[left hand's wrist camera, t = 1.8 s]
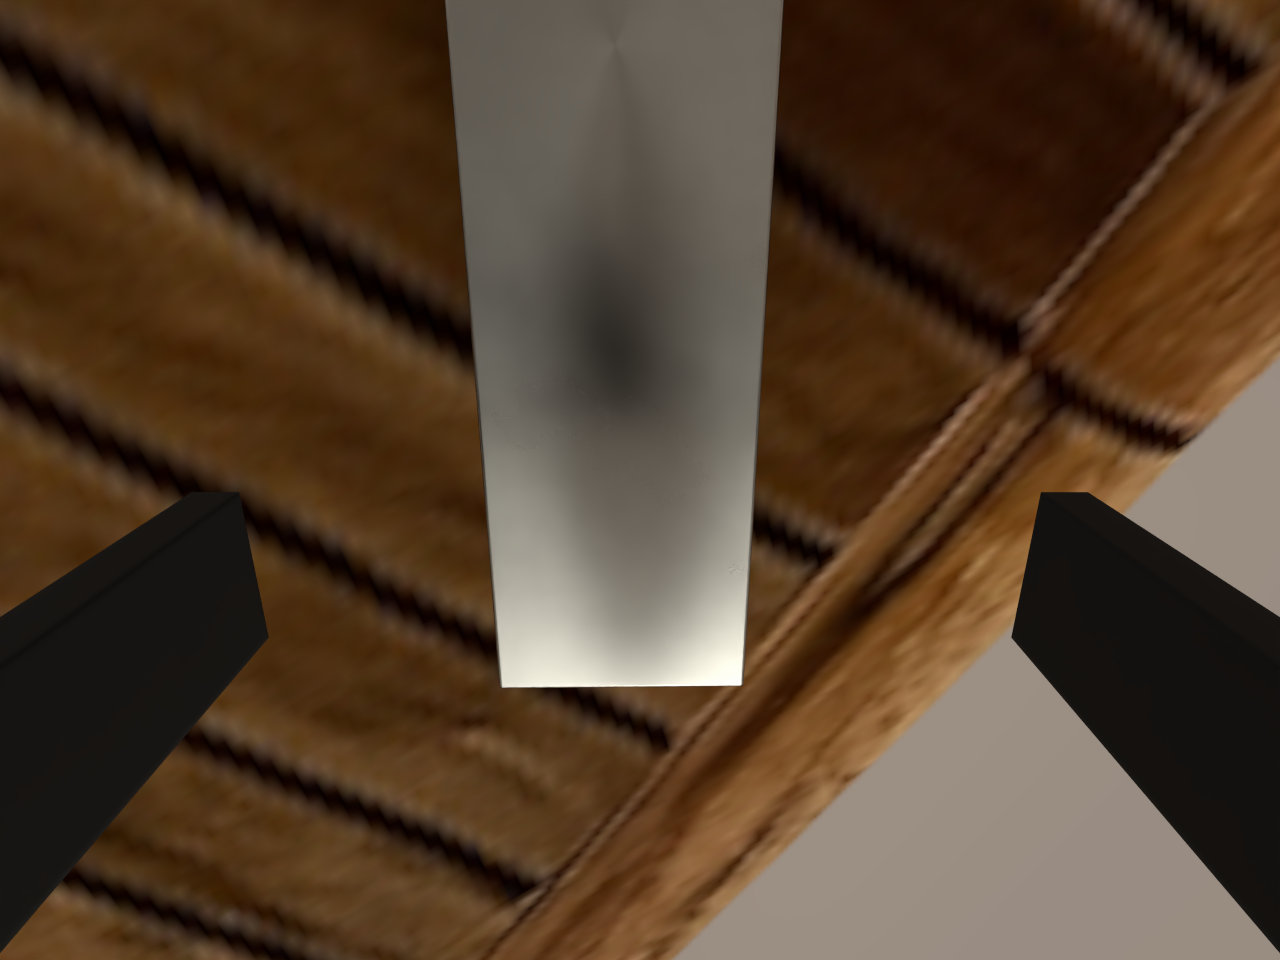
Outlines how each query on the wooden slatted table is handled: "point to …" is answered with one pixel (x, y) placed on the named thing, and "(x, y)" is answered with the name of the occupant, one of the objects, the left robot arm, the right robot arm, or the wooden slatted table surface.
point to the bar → (617, 324)
